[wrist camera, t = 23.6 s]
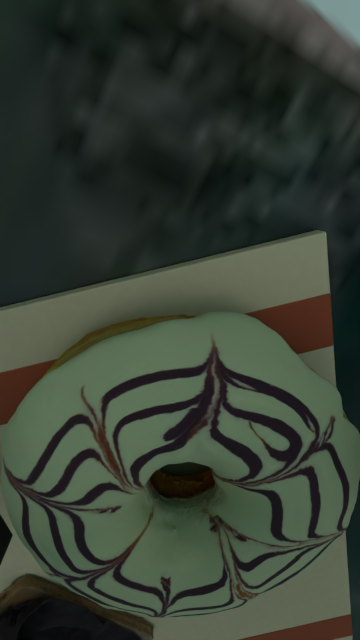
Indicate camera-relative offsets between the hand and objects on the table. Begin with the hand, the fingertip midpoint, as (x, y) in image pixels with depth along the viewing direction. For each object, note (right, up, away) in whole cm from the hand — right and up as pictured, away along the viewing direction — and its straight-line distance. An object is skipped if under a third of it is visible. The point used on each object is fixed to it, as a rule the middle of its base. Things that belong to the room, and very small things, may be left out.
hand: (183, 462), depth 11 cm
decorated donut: (0, +1, +2) cm, 2 cm away
